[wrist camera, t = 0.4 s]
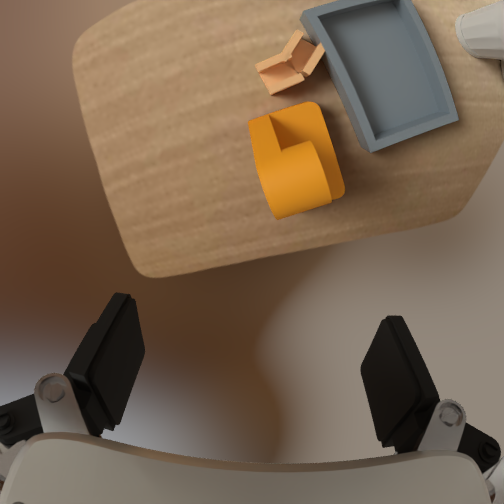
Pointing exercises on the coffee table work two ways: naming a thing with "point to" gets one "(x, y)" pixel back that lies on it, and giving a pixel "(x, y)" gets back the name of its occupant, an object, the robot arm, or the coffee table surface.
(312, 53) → the clip
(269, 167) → the bracket
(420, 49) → the gray tray
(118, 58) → the coffee table surface
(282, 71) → the clip
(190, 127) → the coffee table surface
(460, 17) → the cup
